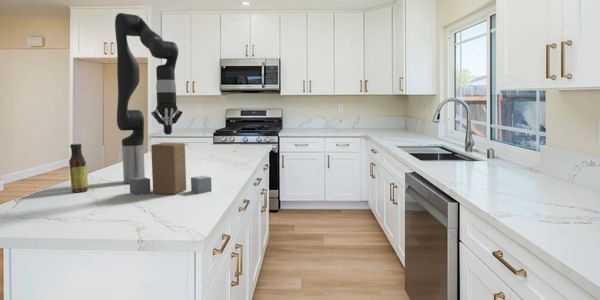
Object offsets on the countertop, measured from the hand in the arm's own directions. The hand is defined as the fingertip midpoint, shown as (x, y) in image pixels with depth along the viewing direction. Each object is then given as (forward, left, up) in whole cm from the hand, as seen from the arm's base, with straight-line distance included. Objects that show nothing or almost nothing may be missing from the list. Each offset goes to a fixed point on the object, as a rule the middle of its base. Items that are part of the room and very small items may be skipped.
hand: (167, 134), depth 174 cm
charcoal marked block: (-6, -10, -24) cm, 27 cm away
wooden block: (0, 0, -24) cm, 24 cm away
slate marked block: (+8, +10, -24) cm, 27 cm away
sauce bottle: (-27, -27, -24) cm, 45 cm away
